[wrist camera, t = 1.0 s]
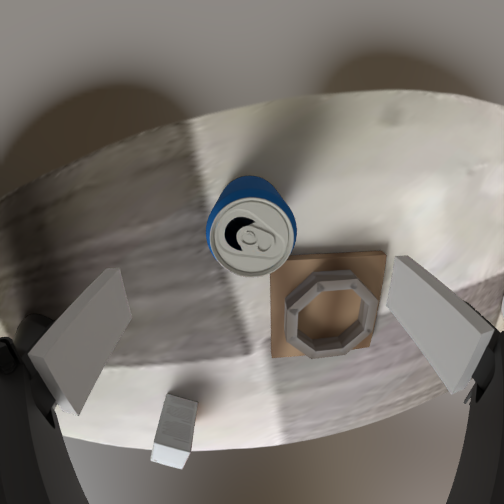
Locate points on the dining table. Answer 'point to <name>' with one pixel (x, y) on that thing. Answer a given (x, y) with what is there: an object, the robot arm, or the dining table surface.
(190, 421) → the small box
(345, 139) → the dining table surface
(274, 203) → the beverage can
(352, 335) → the socket
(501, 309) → the bowl
